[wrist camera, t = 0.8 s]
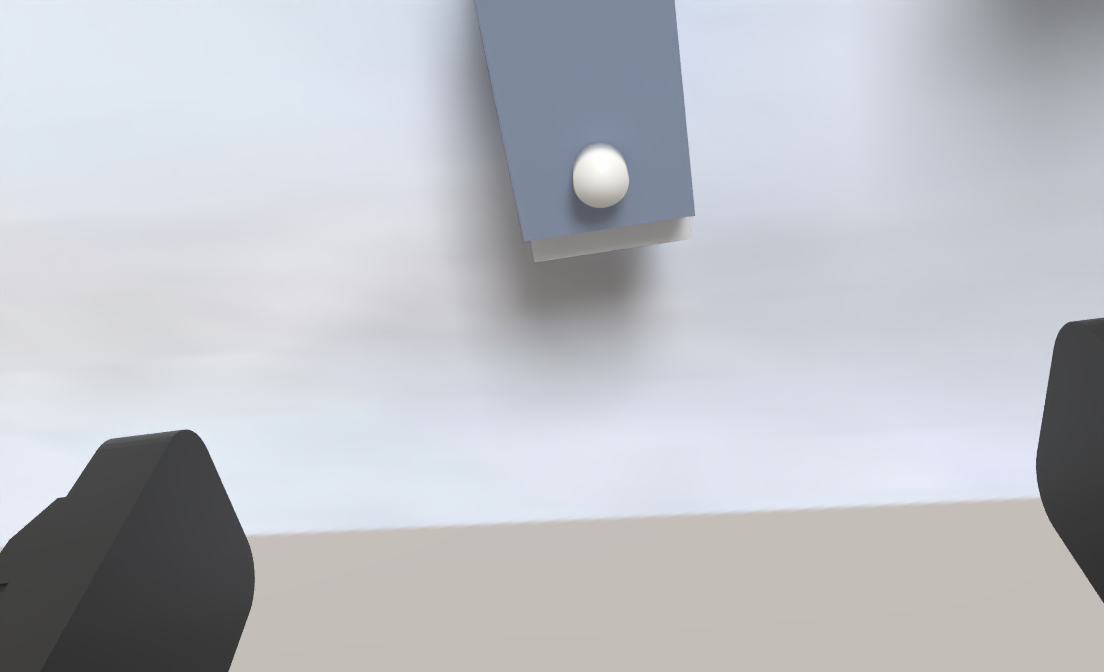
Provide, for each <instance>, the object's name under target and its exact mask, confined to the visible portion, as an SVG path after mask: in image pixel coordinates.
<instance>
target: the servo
mask: <svg viewBox="0 0 1104 672" xmlns="http://www.w3.org/2000/svg"><path fill="white" fill-rule="evenodd" d="M474 2H475V7H476V12H477V17H478V22H479V27H480V31H481V36H482V41H483V46H484V51H485V56H486V61H487V65H488V70H489V75H490V80H491V85H492V90H493V95H494V99H495V104H496V109H497V114H498V119H499V124H500V129H501V134H502V138H503V143H504V148H505V153H506V158H507V163H508V168H509V172H510V177H511V182H512V187H513V192H514V197H515V202H516V207H517V211H518V216H519V221H520V226H521V231H522V236H523V241H524V242H527V241H530V244H531V249H532V254H533V259H534V263H535V262H541V261H548V260H555V259H561V258H568V257H574V256H581V255H588V254H594V253H601V252H607V251H614V250H621V249H627V248H634V247H641V246H647V245H654V244H660V243H667V242H674V241H680V240H687V239H692V230H691V220H690V216H695V210H694V200H693V189H692V179H691V169H690V158H689V148H688V137H687V127H686V117H685V106H684V96H683V85H682V75H681V64H680V54H679V44H678V33H677V23H676V12H675V2H674V0H474Z"/></svg>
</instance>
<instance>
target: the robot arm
mask: <svg viewBox="0 0 1104 672" xmlns="http://www.w3.org/2000/svg"><path fill="white" fill-rule="evenodd" d="M1036 473H1037V482H1038V488H1039V492H1040V496H1041V500H1042V503H1043V506H1044V508H1045V511H1046V513H1047V516H1048V518H1049V520H1050V521H1051V523H1052V525H1053V527H1054V528H1055V530H1056V531H1057V533H1058V534H1059V536H1060V538H1061V539H1062V541H1063V542H1064V544H1065V545H1066V547H1067V548H1068V549H1069V551H1070V553H1071V554H1072V556H1073V557H1074V559H1075V560H1076V562H1077V563H1078V565H1079V566H1080V568H1081V569H1082V571H1083V572H1084V574H1085V575H1086V577H1087V578H1088V580H1089V582H1090V583H1091V584H1092V586H1093V588H1094V589H1095V591H1096V592H1097V594H1098V595H1099V597H1100V598H1101V600H1102V601H1103V603H1104V318H1097V319H1089V320H1081V321H1073V322H1069V323H1067V324H1065V325H1064V326H1063V327H1062V328H1061V330H1060V331H1059V333H1058V335H1057V338H1056V341H1055V345H1054V350H1053V356H1052V362H1051V369H1050V375H1049V381H1048V387H1047V394H1046V400H1045V406H1044V412H1043V418H1042V425H1041V431H1040V437H1039V443H1038V450H1037V457H1036ZM254 583H255V576H254V562H253V557H252V553H251V549H250V546H249V543H248V540H247V538H246V536H245V533H244V531H243V529H242V527H241V524H240V522H239V520H238V518H237V515H236V513H235V511H234V509H233V506H232V504H231V502H230V500H229V497H228V495H227V493H226V491H225V488H224V486H223V484H222V481H221V479H220V477H219V475H218V472H217V470H216V468H215V466H214V463H213V461H212V459H211V457H210V454H209V452H208V450H207V448H206V446H205V444H204V442H203V441H202V439H201V438H200V437H199V436H198V435H197V434H196V433H195V432H193V431H191V430H178V431H170V432H162V433H154V434H146V435H138V436H130V437H122V438H114V439H110V440H107V441H106V442H104V443H103V444H102V445H101V446H100V447H99V448H98V450H97V451H96V453H95V454H94V456H93V457H92V459H91V460H90V462H89V463H88V465H87V466H86V468H85V469H84V471H83V472H82V474H81V475H80V477H79V478H78V480H77V481H76V483H75V484H74V486H73V487H72V489H71V490H70V492H69V493H68V495H67V496H66V497H62V498H57V499H56V500H55V501H54V502H53V503H52V504H50V505H49V506H48V507H47V508H46V509H45V510H43V511H42V512H41V513H40V514H39V515H38V516H36V517H35V518H34V519H33V520H32V521H31V522H30V523H28V524H27V525H26V526H25V527H24V528H23V529H21V530H20V531H19V532H18V533H17V534H16V535H14V536H13V537H12V538H11V539H10V540H9V541H8V543H7V544H6V546H5V547H4V548H3V550H2V551H1V553H0V672H228V671H229V668H230V666H231V663H232V660H233V657H234V654H235V651H236V649H237V646H238V643H239V640H240V637H241V635H242V632H243V629H244V626H245V623H246V620H247V618H248V615H249V612H250V609H251V606H252V601H253V595H254Z"/></svg>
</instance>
